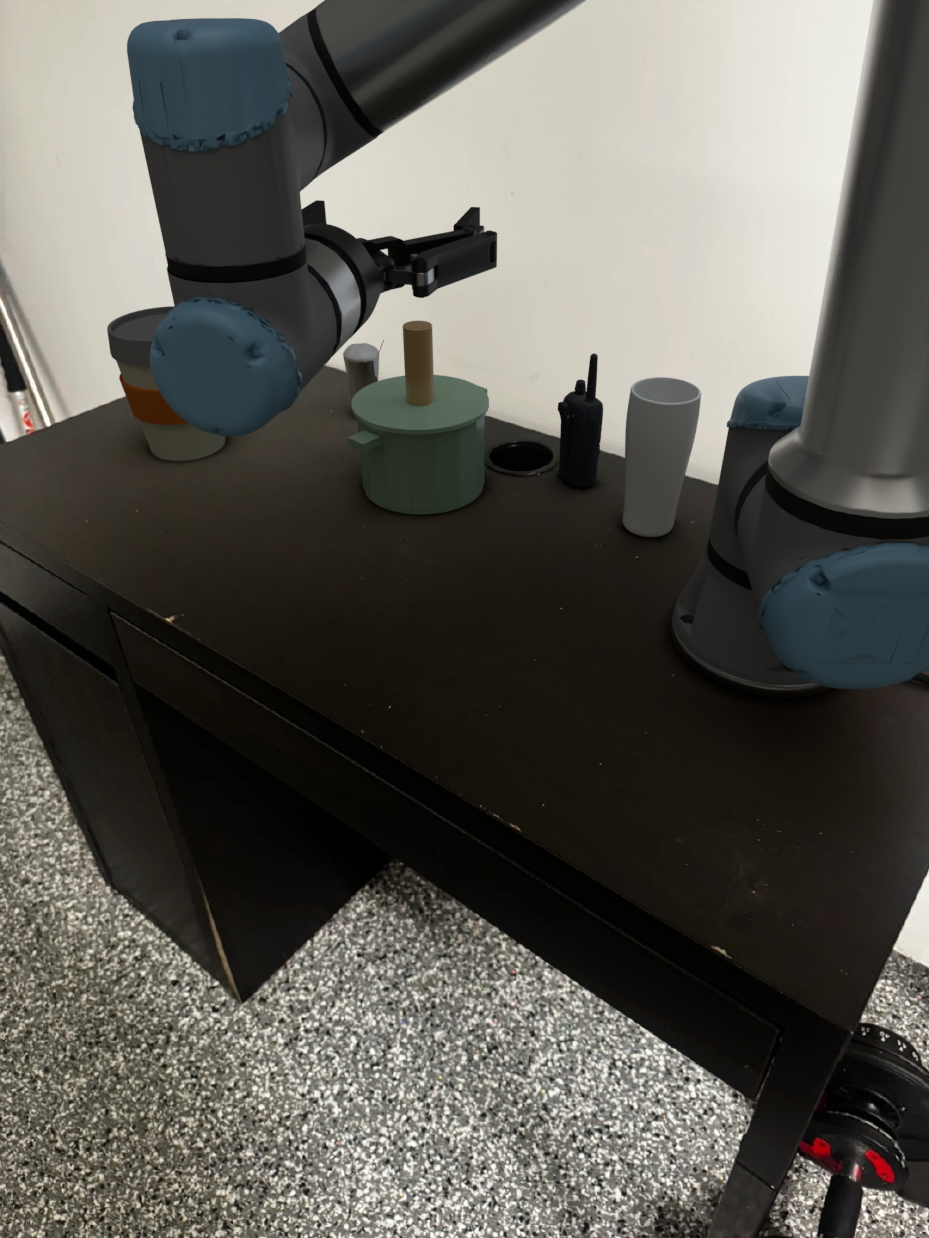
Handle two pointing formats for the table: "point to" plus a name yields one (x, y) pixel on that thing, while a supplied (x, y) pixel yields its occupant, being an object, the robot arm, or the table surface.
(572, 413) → the two-way radio
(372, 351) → the milkshake
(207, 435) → the reusable coffee cup
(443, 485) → the pot
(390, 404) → the lid
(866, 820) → the table surface
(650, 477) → the drinking glass
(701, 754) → the table surface
